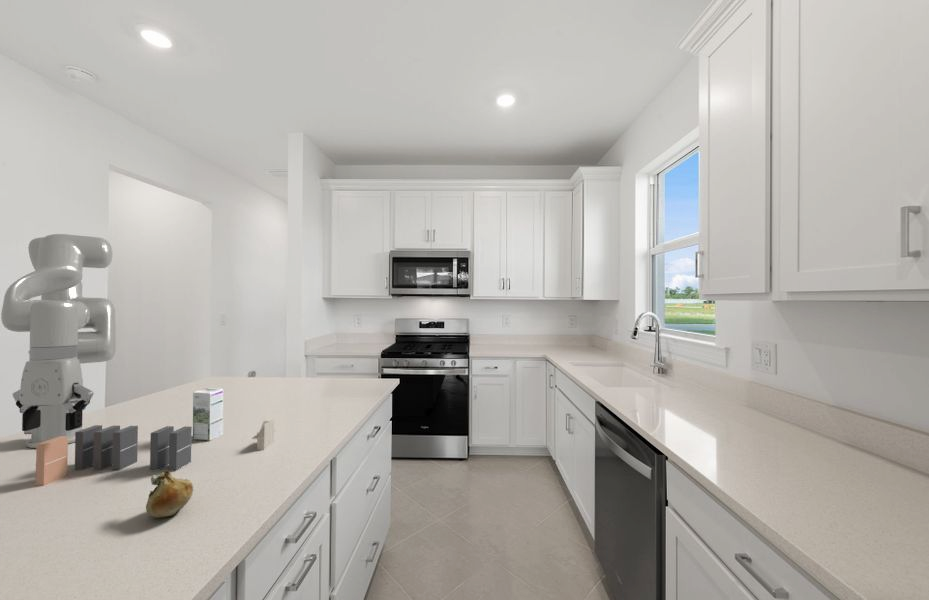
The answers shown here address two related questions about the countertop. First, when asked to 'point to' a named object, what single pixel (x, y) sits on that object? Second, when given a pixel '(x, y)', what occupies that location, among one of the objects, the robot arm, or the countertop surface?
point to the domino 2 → (85, 447)
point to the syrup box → (207, 414)
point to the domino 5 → (160, 447)
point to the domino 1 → (51, 460)
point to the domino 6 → (179, 448)
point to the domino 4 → (125, 447)
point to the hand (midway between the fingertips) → (52, 429)
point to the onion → (168, 495)
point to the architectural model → (265, 435)
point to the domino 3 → (104, 447)
